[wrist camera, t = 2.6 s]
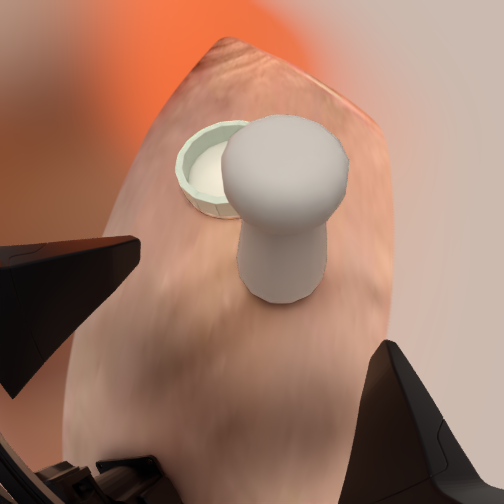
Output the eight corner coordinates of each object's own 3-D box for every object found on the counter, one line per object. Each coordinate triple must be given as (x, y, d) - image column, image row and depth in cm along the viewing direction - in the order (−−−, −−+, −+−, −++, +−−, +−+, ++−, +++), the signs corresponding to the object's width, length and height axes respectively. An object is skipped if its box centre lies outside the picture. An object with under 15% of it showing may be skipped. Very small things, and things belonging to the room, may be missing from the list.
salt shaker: (299, 222, 21) (319, 79, 9) (333, 288, 19) (415, 188, 7) (229, 251, 21) (173, 122, 8) (259, 322, 19) (228, 267, 6)
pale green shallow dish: (201, 235, 21) (193, 221, 19) (174, 161, 24) (166, 144, 22) (301, 193, 22) (304, 176, 20) (257, 128, 25) (256, 109, 23)
